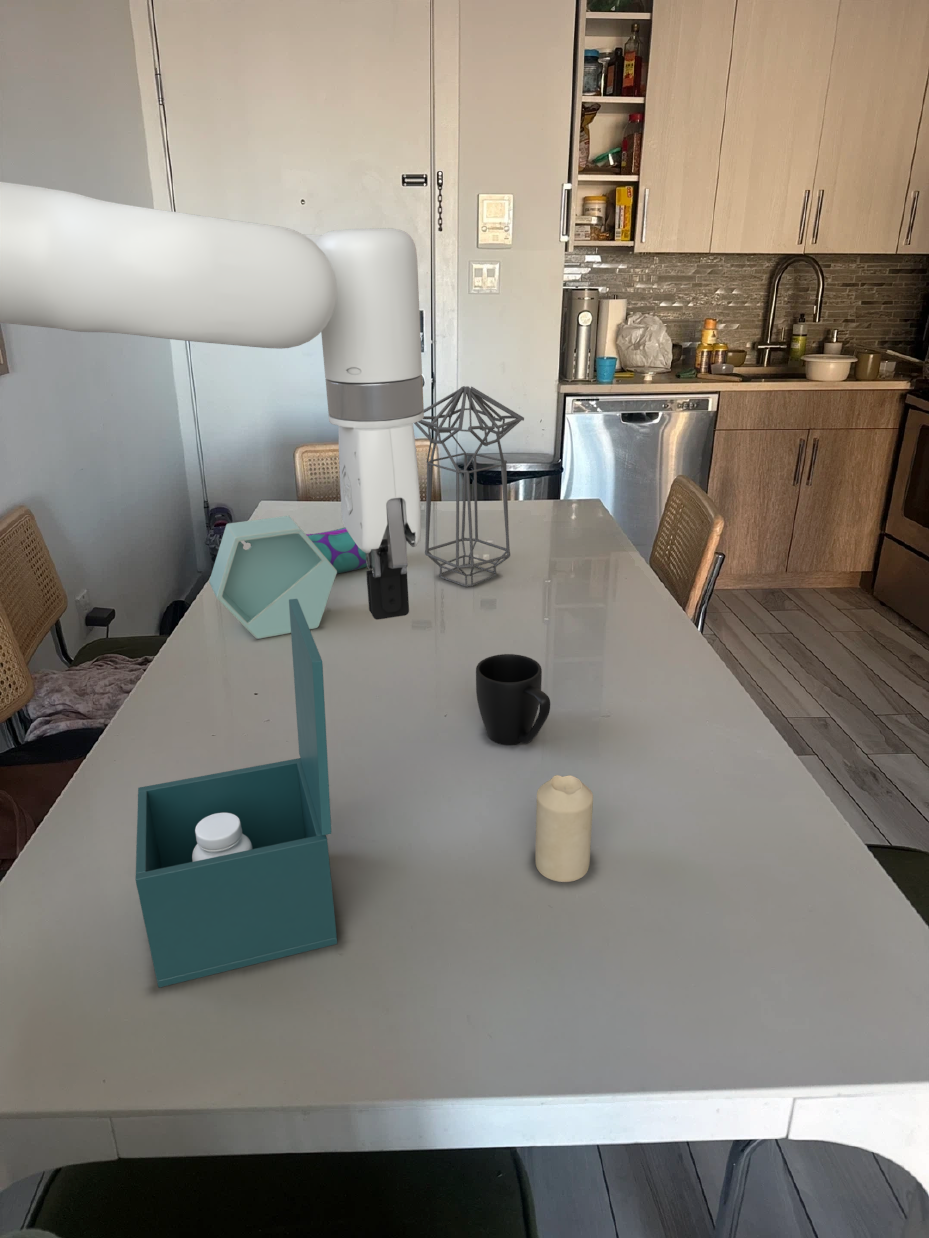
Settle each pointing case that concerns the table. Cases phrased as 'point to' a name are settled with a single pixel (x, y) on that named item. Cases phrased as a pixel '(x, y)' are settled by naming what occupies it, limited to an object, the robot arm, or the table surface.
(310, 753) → the cool box lid
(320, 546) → the pencil case
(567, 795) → the candle
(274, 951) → the teal open box
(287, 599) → the planter
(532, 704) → the mug
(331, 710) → the table surface
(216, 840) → the supplement bottle
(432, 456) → the geometric lantern
